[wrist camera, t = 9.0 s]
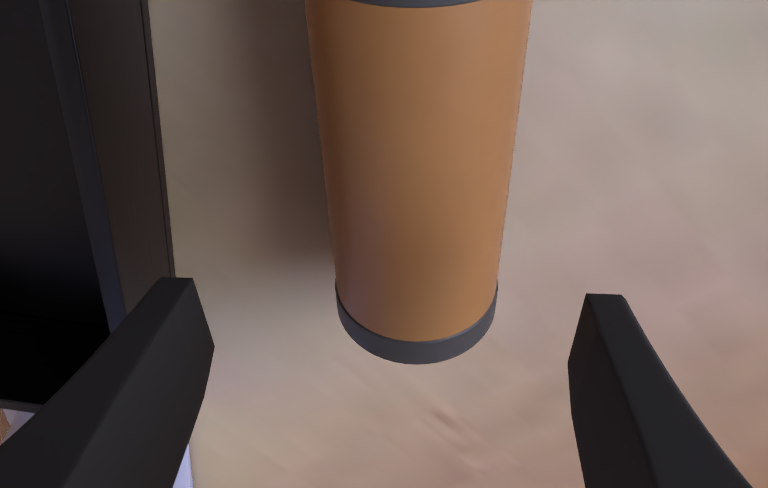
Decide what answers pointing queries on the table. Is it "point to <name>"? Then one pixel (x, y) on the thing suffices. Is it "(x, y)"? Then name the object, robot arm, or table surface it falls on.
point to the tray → (75, 186)
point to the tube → (417, 163)
